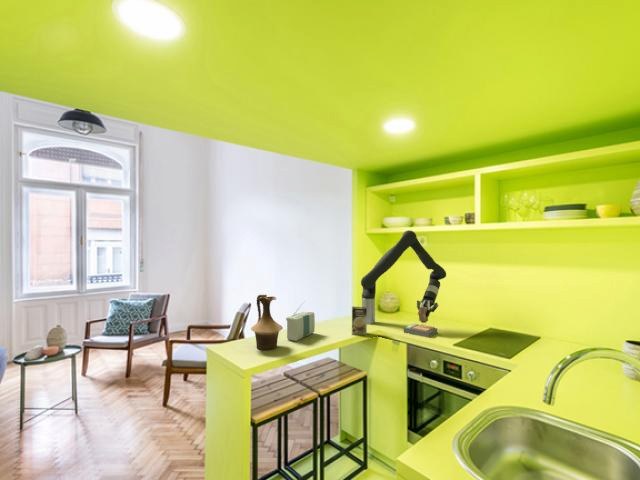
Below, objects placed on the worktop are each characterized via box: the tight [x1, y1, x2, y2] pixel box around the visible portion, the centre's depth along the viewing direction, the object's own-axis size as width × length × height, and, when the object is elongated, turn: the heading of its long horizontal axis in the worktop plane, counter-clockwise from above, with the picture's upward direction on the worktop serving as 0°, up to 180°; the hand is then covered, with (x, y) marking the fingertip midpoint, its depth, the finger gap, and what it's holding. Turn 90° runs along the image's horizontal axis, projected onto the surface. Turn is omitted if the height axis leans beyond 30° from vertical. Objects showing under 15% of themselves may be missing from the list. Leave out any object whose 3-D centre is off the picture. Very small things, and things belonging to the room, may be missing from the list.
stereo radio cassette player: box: [285, 300, 316, 342], centre depth 191 cm, size 21×8×20 cm, turn 152°
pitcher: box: [250, 294, 284, 351], centre depth 171 cm, size 18×17×28 cm
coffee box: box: [351, 306, 368, 336], centre depth 197 cm, size 9×6×16 cm
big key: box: [413, 324, 435, 332], centre depth 198 cm, size 9×11×2 cm
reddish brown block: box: [418, 306, 429, 324], centre depth 198 cm, size 4×4×9 cm
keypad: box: [403, 322, 438, 338], centre depth 199 cm, size 16×13×4 cm
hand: (422, 315), depth 197 cm, fingers closed on reddish brown block, 4 cm apart
